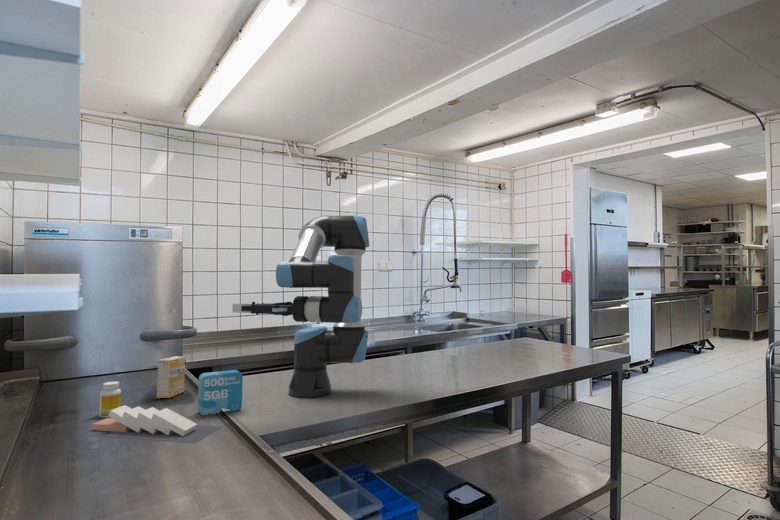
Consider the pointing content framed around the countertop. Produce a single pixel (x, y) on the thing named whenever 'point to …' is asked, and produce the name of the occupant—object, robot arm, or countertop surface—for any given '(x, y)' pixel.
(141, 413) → the domino
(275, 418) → the countertop surface
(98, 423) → the domino
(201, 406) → the data package
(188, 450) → the countertop surface
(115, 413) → the domino
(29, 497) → the countertop surface
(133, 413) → the domino
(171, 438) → the mat
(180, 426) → the domino
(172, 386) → the supplement box
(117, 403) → the supplement bottle
